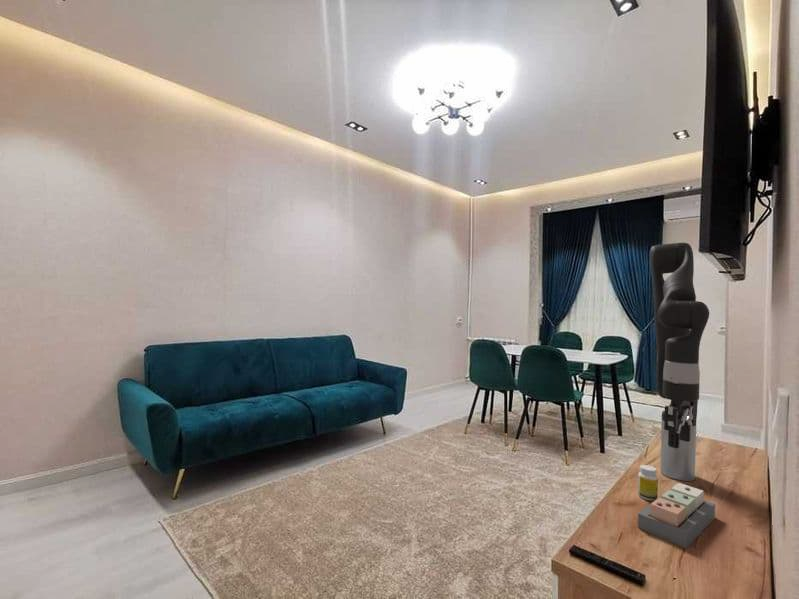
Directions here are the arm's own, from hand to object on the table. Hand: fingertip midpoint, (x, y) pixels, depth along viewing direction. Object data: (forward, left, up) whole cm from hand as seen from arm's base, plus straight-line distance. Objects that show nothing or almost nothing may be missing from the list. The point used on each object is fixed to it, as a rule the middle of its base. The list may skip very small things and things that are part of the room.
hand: (679, 443), depth 100 cm
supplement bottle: (-8, -10, -20) cm, 24 cm away
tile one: (-7, 0, -17) cm, 18 cm away
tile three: (+7, 0, -17) cm, 18 cm away
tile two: (0, 0, -17) cm, 17 cm away
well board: (0, 0, -20) cm, 20 cm away
